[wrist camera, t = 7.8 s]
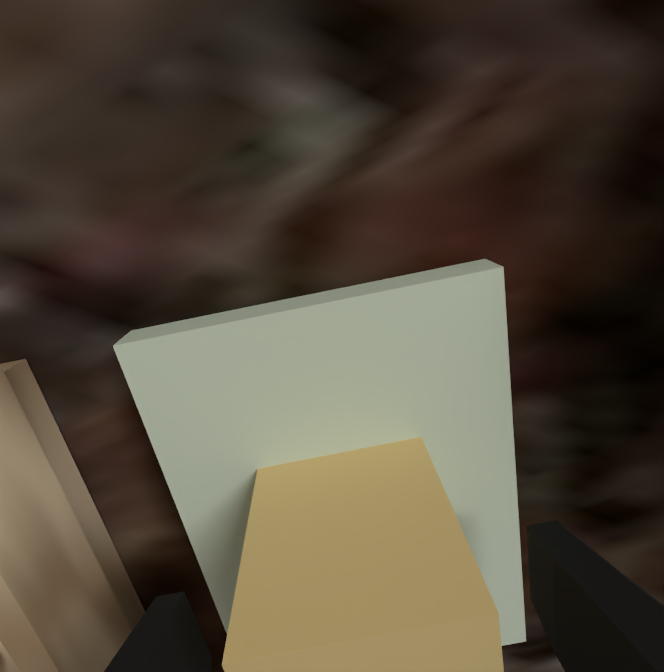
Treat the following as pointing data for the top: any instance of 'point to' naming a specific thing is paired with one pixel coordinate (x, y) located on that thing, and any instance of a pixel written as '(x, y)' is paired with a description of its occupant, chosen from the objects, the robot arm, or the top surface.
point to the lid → (346, 471)
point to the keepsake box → (53, 547)
